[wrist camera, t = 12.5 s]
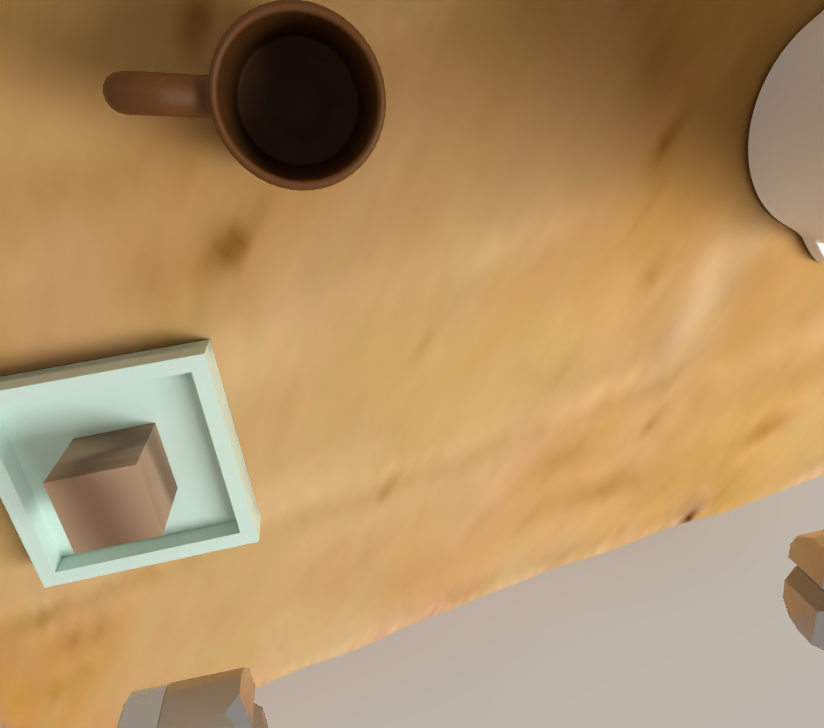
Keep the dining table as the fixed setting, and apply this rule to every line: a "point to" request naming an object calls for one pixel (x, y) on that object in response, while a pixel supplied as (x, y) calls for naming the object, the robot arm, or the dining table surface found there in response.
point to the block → (112, 488)
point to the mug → (277, 94)
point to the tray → (113, 410)
